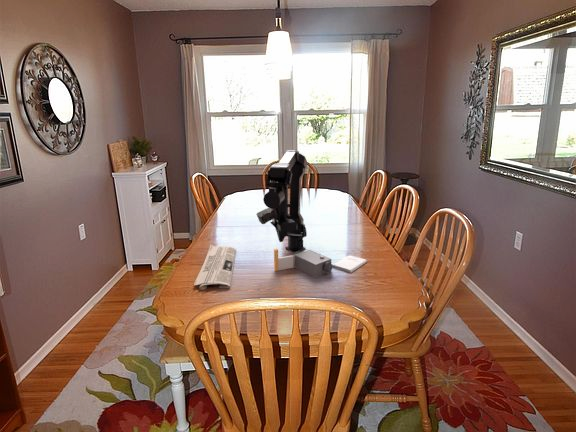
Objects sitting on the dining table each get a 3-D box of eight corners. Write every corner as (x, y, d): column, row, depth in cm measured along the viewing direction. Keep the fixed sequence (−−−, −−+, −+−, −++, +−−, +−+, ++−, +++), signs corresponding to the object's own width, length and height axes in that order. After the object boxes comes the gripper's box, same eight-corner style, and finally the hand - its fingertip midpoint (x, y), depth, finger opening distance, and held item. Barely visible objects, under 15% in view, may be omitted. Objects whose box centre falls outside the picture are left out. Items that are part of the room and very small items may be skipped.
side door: (294, 266, 145) (294, 245, 143) (295, 267, 144) (295, 246, 141) (274, 269, 142) (273, 248, 140) (275, 271, 141) (275, 249, 139)
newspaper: (230, 290, 129) (229, 280, 128) (193, 291, 128) (192, 282, 127) (236, 251, 162) (236, 243, 161) (207, 252, 162) (206, 244, 161)
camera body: (294, 266, 145) (294, 253, 144) (309, 261, 150) (310, 248, 148) (318, 278, 135) (318, 264, 133) (334, 272, 140) (334, 258, 138)
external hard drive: (332, 268, 145) (348, 258, 154) (350, 274, 140) (366, 263, 149) (332, 264, 144) (348, 254, 153) (350, 270, 139) (366, 259, 148)
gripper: (251, 197, 139) (253, 236, 144) (266, 210, 123) (267, 254, 127) (279, 194, 143) (280, 232, 148) (297, 206, 126) (298, 249, 131)
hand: (281, 241), depth 138 cm, fingers closed
